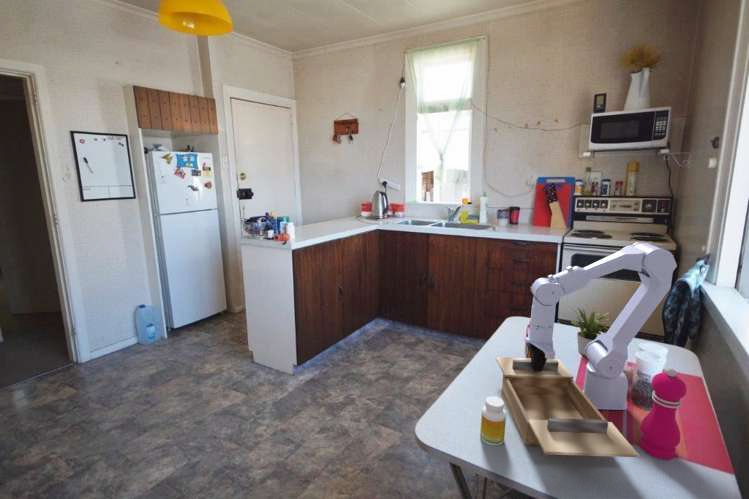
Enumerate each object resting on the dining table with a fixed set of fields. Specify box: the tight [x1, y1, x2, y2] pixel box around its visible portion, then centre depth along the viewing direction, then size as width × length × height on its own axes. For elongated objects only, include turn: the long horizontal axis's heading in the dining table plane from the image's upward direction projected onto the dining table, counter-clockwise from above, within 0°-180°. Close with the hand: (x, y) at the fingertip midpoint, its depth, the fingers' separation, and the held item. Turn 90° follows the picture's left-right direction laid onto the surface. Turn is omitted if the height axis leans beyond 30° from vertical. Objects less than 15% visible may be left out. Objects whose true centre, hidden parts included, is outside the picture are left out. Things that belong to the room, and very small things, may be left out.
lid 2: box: [528, 418, 640, 458], centre depth 81 cm, size 18×10×3 cm, turn 87°
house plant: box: [568, 306, 611, 356], centre depth 130 cm, size 14×14×16 cm
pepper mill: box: [639, 367, 687, 460], centre depth 85 cm, size 7×7×20 cm
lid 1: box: [495, 356, 574, 380], centre depth 109 cm, size 18×10×3 cm, turn 87°
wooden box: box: [501, 374, 608, 447], centre depth 97 cm, size 18×20×6 cm
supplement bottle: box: [479, 396, 507, 447], centre depth 90 cm, size 5×5×10 cm
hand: (537, 370), depth 106 cm, fingers closed
